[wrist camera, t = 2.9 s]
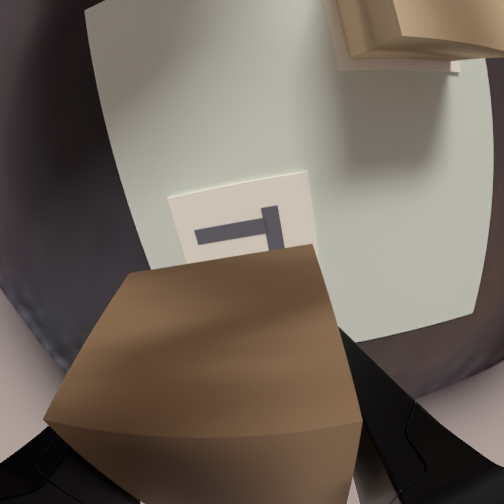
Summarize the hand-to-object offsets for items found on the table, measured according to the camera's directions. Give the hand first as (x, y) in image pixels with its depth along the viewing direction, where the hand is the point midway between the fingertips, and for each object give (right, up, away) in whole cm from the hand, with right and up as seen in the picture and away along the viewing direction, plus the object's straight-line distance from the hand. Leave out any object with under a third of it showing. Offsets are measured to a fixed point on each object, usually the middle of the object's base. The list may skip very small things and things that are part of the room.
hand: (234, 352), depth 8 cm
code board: (+4, +6, +5) cm, 9 cm away
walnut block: (0, 0, +1) cm, 1 cm away
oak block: (+6, +13, 0) cm, 14 cm away
